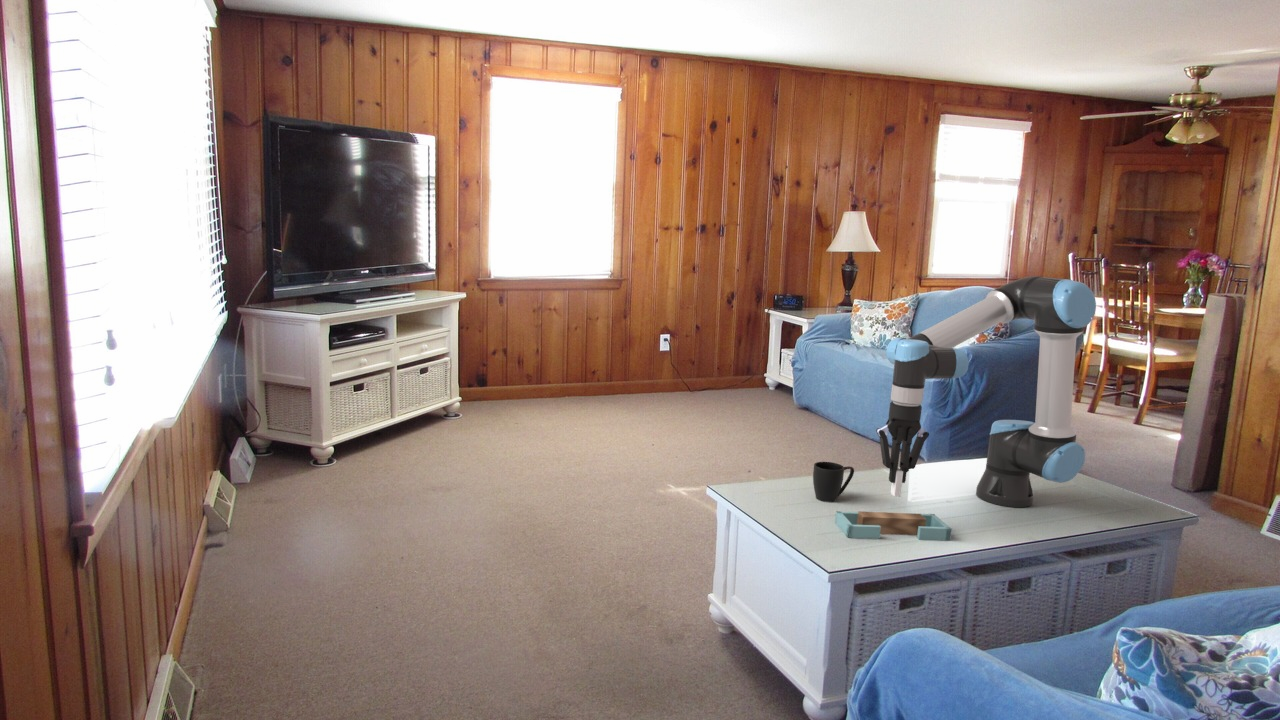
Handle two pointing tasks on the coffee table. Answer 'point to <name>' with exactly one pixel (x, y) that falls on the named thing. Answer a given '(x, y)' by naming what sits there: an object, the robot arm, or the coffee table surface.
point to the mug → (829, 480)
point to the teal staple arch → (933, 529)
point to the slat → (893, 522)
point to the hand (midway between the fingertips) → (895, 494)
